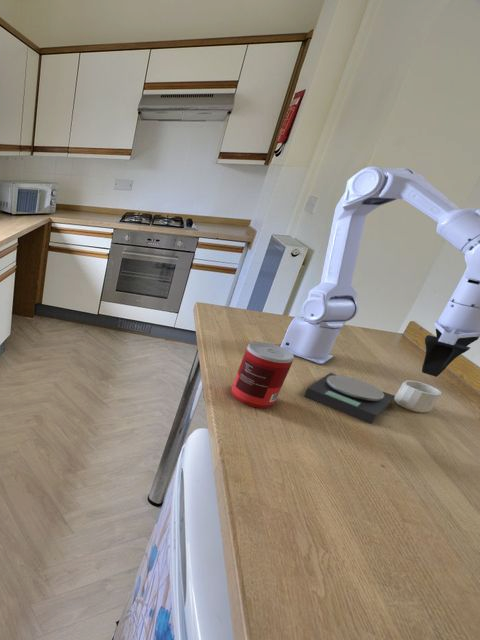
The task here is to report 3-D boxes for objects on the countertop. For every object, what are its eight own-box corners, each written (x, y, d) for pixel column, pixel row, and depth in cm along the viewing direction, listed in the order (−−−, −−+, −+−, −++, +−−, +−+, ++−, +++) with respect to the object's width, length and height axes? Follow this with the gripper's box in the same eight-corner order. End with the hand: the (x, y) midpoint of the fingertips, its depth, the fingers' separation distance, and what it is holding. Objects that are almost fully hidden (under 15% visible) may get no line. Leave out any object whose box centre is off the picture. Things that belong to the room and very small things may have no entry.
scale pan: (319, 384, 85) (320, 382, 85) (334, 373, 90) (336, 371, 90) (375, 405, 79) (376, 403, 78) (388, 393, 83) (390, 390, 83)
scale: (303, 396, 86) (308, 385, 85) (326, 380, 92) (331, 370, 91) (371, 423, 77) (377, 412, 76) (390, 404, 84) (396, 393, 83)
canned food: (266, 392, 86) (286, 345, 82) (279, 412, 79) (301, 363, 75) (226, 384, 88) (243, 338, 84) (234, 404, 82) (254, 355, 77)
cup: (389, 403, 85) (400, 384, 83) (397, 396, 87) (407, 377, 85) (425, 416, 81) (438, 397, 79) (432, 408, 83) (444, 389, 82)
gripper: (499, 317, 68) (456, 388, 74) (510, 304, 76) (470, 369, 81) (439, 305, 73) (403, 371, 79) (455, 293, 81) (421, 355, 86)
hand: (433, 369), depth 80 cm, fingers open, 7 cm apart
